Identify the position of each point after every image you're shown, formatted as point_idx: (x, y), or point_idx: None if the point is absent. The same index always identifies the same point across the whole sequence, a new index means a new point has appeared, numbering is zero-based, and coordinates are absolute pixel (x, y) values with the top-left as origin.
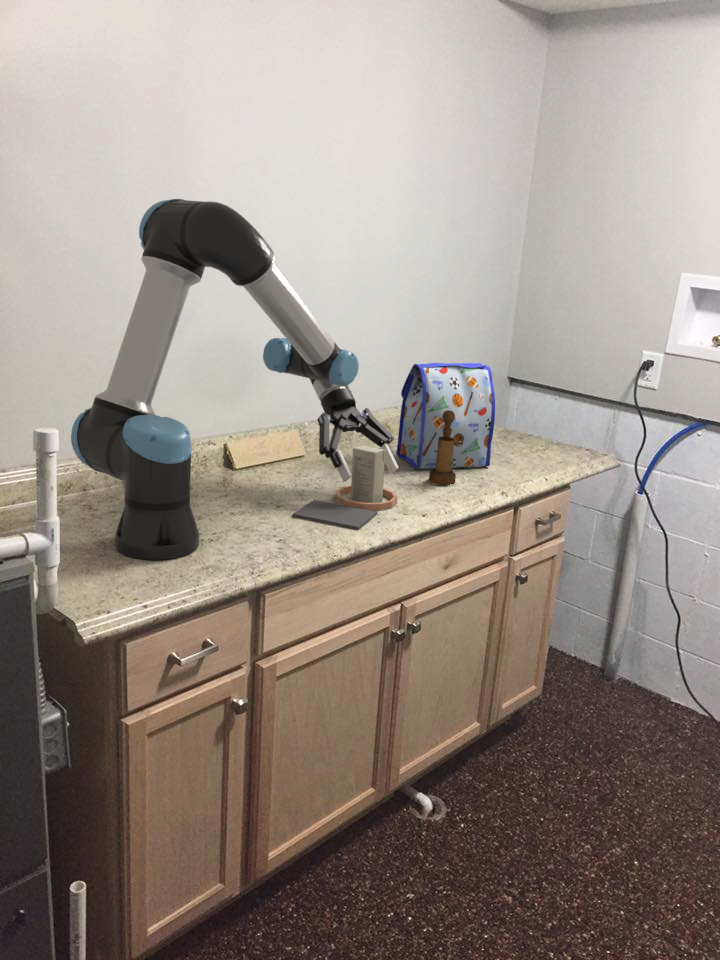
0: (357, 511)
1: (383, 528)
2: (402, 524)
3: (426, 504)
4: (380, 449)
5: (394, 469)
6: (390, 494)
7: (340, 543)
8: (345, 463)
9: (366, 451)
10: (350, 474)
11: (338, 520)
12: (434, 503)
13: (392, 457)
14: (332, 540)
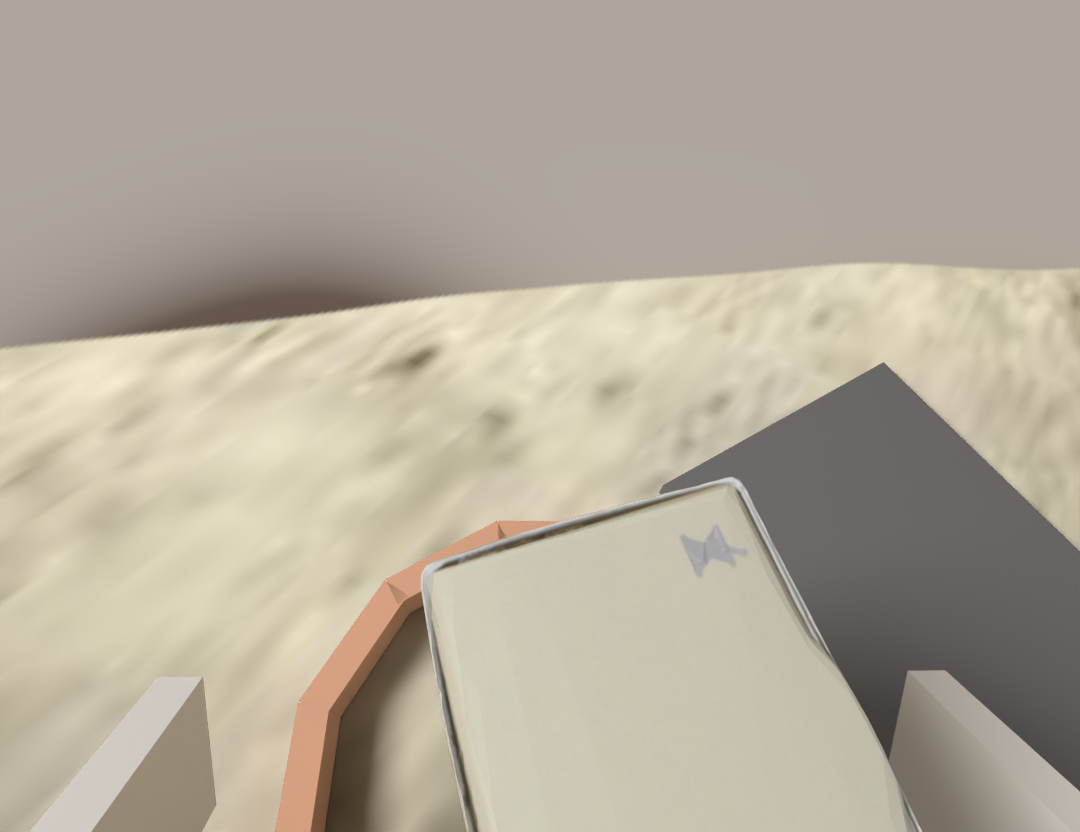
0: (786, 549)
1: (742, 333)
2: (618, 327)
3: (224, 485)
4: (511, 607)
5: (204, 715)
6: (331, 721)
7: (1014, 303)
8: (1070, 813)
9: (832, 657)
10: (933, 679)
11: (963, 482)
12: (159, 474)
13: (72, 816)
14: (1043, 339)
